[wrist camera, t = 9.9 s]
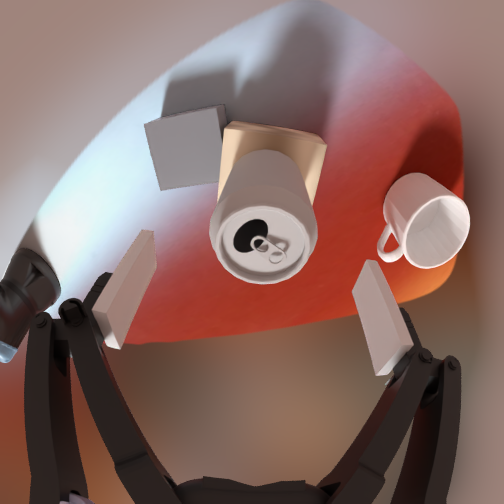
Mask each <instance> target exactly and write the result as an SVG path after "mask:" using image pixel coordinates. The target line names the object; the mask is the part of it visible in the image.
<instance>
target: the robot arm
mask: <svg viewBox="0 0 504 504" xmlns="http://www.w3.org/2000/svg"><path fill="white" fill-rule="evenodd" d="M156 268H157V263H156V254H155V242H154V231H149V230H141V232H140V233H139V235H138V236H137V238H136V239H135V241H134V242H133V244H132V245H131V247H130V248H129V250H128V251H127V253H126V254H125V256H124V257H123V259H122V260H121V262H120V263H119V265H118V266H117V268H116V270H115V271H114V273H108V272H105V273H103V274H102V275H101V276H100V277H98V279H97V280H96V282H95V283H94V286H93V287H92V288H91V291H89V293H88V295H87V296H86V298H85V299H84V301H83V303H82V301H80V300H79V299H76V298H71V299H68V300H66V301H64V302H63V303H62V304H61V305H60V307H59V310H58V313H59V315H60V317H61V319H52V317H51V316H50V314H49V313H47V312H44V311H45V310H46V309H47V308H49V307H50V306H52V305H53V304H54V303H55V302H56V301H57V299H58V298H59V296H60V292H61V290H60V285H59V282H58V280H57V278H56V276H55V274H54V273H53V271H52V270H51V268H50V267H49V266H48V264H47V263H46V262H45V261H44V260H43V259H42V258H41V257H40V256H39V255H37V254H36V253H35V252H33V251H31V250H29V249H25V248H22V249H19V250H18V251H17V252H16V253H15V254H14V255H13V257H12V259H11V262H10V264H9V266H8V268H7V270H6V273H5V275H4V278H3V279H2V280H1V282H0V361H1V362H4V363H7V362H9V361H10V360H11V359H12V357H13V356H14V355H15V353H16V352H17V351H18V348H19V346H20V344H21V342H22V341H23V339H24V337H25V335H26V334H27V332H28V330H29V336H28V344H27V354H26V366H25V384H24V385H25V386H24V413H25V431H26V442H27V451H28V458H29V465H30V471H31V476H32V477H31V487H30V502H29V504H95V503H93V502H92V501H91V500H89V499H88V490H87V483H86V479H85V474H84V470H83V466H82V462H81V457H80V453H79V447H78V442H77V435H76V429H75V422H74V414H73V405H72V394H71V380H70V357H72V358H73V361H74V365H75V368H76V371H77V375H78V378H79V381H80V384H81V387H82V389H83V393H84V395H85V398H86V401H87V403H88V406H89V409H90V411H91V414H92V416H93V419H94V421H95V423H96V426H97V428H98V430H99V432H100V434H101V437H102V438H103V441H104V443H105V445H106V447H107V449H108V451H109V453H110V455H111V457H112V459H113V461H114V464H115V470H116V473H117V474H118V477H119V478H120V480H121V482H122V483H123V485H124V487H125V488H126V490H127V491H128V493H129V495H130V496H131V498H132V499H133V501H134V502H135V504H371V503H372V502H373V500H374V499H375V498H376V496H377V495H378V493H379V492H380V490H381V489H382V487H383V485H384V483H385V478H384V474H385V472H386V470H387V468H388V467H389V465H390V463H391V462H392V460H393V458H394V456H395V454H396V452H397V451H398V449H399V447H400V445H401V443H402V441H403V439H404V437H405V435H406V433H407V431H408V428H409V426H410V424H411V422H412V419H413V417H414V420H413V425H412V430H411V435H410V439H409V443H408V448H407V452H406V456H405V459H404V463H403V466H402V470H401V473H400V476H399V479H398V482H397V485H396V488H395V491H394V494H393V497H392V500H391V503H390V504H446V498H447V494H448V490H449V486H450V482H451V477H452V472H453V468H454V462H455V456H456V449H457V442H458V434H459V423H460V409H461V366H460V363H459V361H458V360H457V359H456V358H455V357H454V356H450V355H449V356H447V357H446V358H445V359H444V360H439V359H436V358H433V355H432V354H431V352H430V351H429V350H428V349H425V348H422V346H421V343H420V341H419V338H418V336H417V333H416V331H415V328H414V326H413V324H412V323H411V319H410V317H409V314H408V313H407V312H406V311H405V310H404V308H399V307H398V305H397V303H396V301H395V298H394V296H393V294H392V292H391V290H390V287H389V285H388V283H387V281H386V279H385V277H384V275H383V273H382V271H381V269H380V267H379V265H378V263H377V261H374V260H366V262H365V264H364V266H363V269H362V271H361V273H360V275H359V277H358V280H357V282H356V284H355V286H354V288H353V290H352V294H353V297H354V300H355V303H356V306H357V309H358V313H359V316H360V319H361V323H362V326H363V329H364V333H365V336H366V340H367V344H368V347H369V351H370V354H371V359H372V362H373V366H374V371H375V374H376V375H387V374H388V373H389V372H390V371H391V370H392V369H393V371H394V375H393V376H392V377H391V378H390V379H389V380H388V381H387V382H386V383H385V385H387V384H388V385H387V387H386V389H385V391H384V392H383V394H382V396H381V398H380V400H379V401H378V403H377V405H376V407H375V408H374V410H373V412H372V413H371V415H370V417H369V418H368V420H367V422H366V423H365V425H364V426H363V428H362V430H361V431H360V433H359V434H358V436H357V437H356V439H355V440H354V441H353V443H352V444H351V446H350V447H349V449H348V450H347V451H346V453H345V454H344V456H343V457H342V458H341V460H340V461H339V462H338V464H337V465H336V466H335V468H334V469H333V470H332V471H331V472H330V473H329V474H328V475H327V476H326V477H324V478H323V479H322V480H321V481H320V482H319V483H318V485H317V486H313V485H310V484H306V483H305V480H301V481H280V482H276V483H272V484H267V485H262V486H257V487H256V486H255V487H254V486H250V485H247V484H243V483H240V482H236V481H233V480H230V479H222V478H213V477H205V476H203V478H202V479H194V480H190V481H186V482H184V483H181V484H179V485H178V486H177V484H176V483H175V482H174V480H173V479H172V478H171V476H170V475H169V473H168V472H167V470H166V469H165V468H164V466H163V465H162V464H161V463H160V461H159V460H158V458H157V456H156V455H155V453H154V452H153V450H152V449H151V447H150V445H149V444H148V442H147V440H146V438H145V437H144V435H143V433H142V432H141V430H140V428H139V426H138V424H137V423H136V421H135V419H134V417H133V415H132V414H131V411H130V409H129V407H128V405H127V403H126V401H125V399H124V397H123V395H122V393H121V391H120V389H119V386H118V385H117V382H116V380H115V377H114V375H113V373H112V370H111V368H110V365H109V363H108V361H107V358H106V355H105V353H104V351H103V348H102V343H103V341H104V340H105V342H106V344H107V346H109V347H112V348H116V349H121V347H122V344H123V342H124V339H125V337H126V334H127V332H128V330H129V327H130V325H131V322H132V320H133V318H134V316H135V313H136V311H137V309H138V306H139V304H140V302H141V300H142V298H143V295H144V293H145V291H146V289H147V287H148V285H149V282H150V280H151V278H152V276H153V274H154V272H155V270H156Z"/></svg>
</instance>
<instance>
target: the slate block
mask: <svg viewBox="0 0 504 504" xmlns="http://www.w3.org/2000/svg"><path fill="white" fill-rule="evenodd" d="M226 126H227V119H226V113H225V107H224V104H223V105H217V106H211V107H206V108H201V109H196V110H191V111H186V112H182V113H177V114H173V115H169V116H165V117H161V118H158V119H156V120H153V121H151V122H148V123H146V124H144V128H145V132H146V136H147V140H148V145H149V149H150V153H151V157H152V160H153V164H154V168H155V172H156V176H157V179H158V183H159V187H160V190H161V191H162V190H168V189H175V188H181V187H187V186H194V185H201V184H208V183H216V182H219V177H220V166H221V156H222V145H223V136H224V128H225V127H226Z"/></svg>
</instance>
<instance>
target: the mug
mask: <svg viewBox="0 0 504 504" xmlns="http://www.w3.org/2000/svg"><path fill="white" fill-rule="evenodd" d="M383 213H384V217H385V221H386V222H387V225H386V227H385V229H384V231H383V233H382V235H381V237H380V239H379V241H378V244H377V251H378V254H379V256H380V257H381V258H382V260H384V261H386V262H393V261H396V260H398V259H399V258H400V257H401V256H402V255H403V254H404V255H405V257H406V259H407V260H408V261H409V262H410V263H411V264H412V265H414V266H417V267H419V268H427V269H428V268H434V267H437V266H440V265H442V264H444V263H446V262H447V261H448V260H450V259H451V258H452V257H453V256H454V255H455V254H456V253H457V252H458V251H459V250H460V248H461V247H462V245H463V244H464V242H465V240H466V237H467V235H468V231H469V227H470V216H469V212H468V209H467V206H466V205H465V203H464V202H463V200H461V199H460V198H459V197H457V196H456V195H455V194H453V193H452V192H451V191H449V190H448V189H446V188H445V187H444V186H442V185H441V184H439V183H438V182H436V181H435V180H434V179H432V178H431V177H429V176H428V175H426V174H422V173H410V174H407V175H405V176H403V177H401V178H400V179H398V180H397V181H396V182H395V183H394V184H393V185H392V186H391V187H390V189H389V191H388V193H387V195H386V197H385V201H384V209H383ZM391 232H392V233H393V235H394V236H395V238H396V240H397V242H398V244H399V245H400V246H399V247H398V248H397V249H396V250H394V251H392V252H390V253H385V252H384V251H383V248H384V245H385V243H386V241H387V239H388V237H389V235H390V233H391Z"/></svg>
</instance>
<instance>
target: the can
mask: <svg viewBox="0 0 504 504" xmlns="http://www.w3.org/2000/svg"><path fill="white" fill-rule="evenodd" d="M209 236H210V239H211V243H212V246H213V249H214V250H215V252H216V254H217V257H218V259H219V261H220V262H221V264H222V265H223V266H224V268H225V269H226V270H227V271H229V272H230V273H231V274H233V275H234V276H235V277H237V278H239V279H242V280H244V281H247V282H250V283H257V284H271V283H277V282H280V281H283V280H286V279H289V278H290V277H292V276H293V275H295V274H296V273H297V272H299V271H300V270H301V268H302V267H303V266H304V265H305V263H306V262H307V260H308V257H309V256H310V255H311V253H312V252H313V250H314V247H315V244H316V241H317V238H318V236H317V222H316V218H315V215H314V211H313V208H312V205H311V201H310V198H309V195H308V192H307V189H306V185H305V182H304V179H303V176H302V174H301V172H300V170H299V167H298V166H297V164H296V163H295V162H294V161H293V160H292V159H291V158H290V157H288V156H286V155H284V154H283V153H281V152H279V151H274V150H268V149H264V150H256V151H252V152H250V153H248V154H246V155H244V156H242V157H241V158H240V159H239V160H238V161H237V162H236V163H235V164H234V166H233V168H232V170H231V172H230V174H229V176H228V178H227V181H226V183H225V185H224V188H223V190H222V193H221V195H220V198H219V200H218V202H217V205H216V207H215V210H214V212H213V215H212V217H211V220H210V231H209Z"/></svg>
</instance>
